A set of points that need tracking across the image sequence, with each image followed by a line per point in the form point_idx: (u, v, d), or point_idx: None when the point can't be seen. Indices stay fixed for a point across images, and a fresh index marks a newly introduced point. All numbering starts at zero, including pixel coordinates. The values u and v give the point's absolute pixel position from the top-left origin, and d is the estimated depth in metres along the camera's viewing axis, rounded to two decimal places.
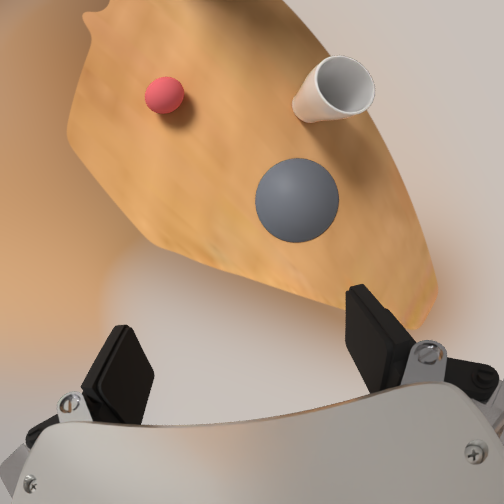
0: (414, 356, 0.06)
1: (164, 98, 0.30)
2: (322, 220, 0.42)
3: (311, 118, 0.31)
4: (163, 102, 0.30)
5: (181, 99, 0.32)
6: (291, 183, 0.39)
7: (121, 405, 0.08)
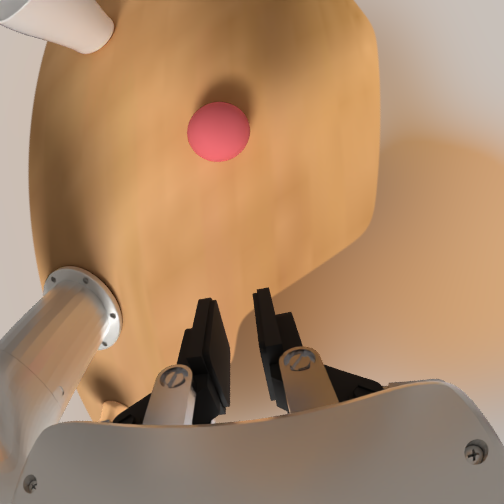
0: (283, 360, 0.07)
1: (219, 113, 0.20)
2: None
3: (96, 2, 0.14)
4: (225, 111, 0.20)
5: None
6: None
7: (220, 375, 0.09)
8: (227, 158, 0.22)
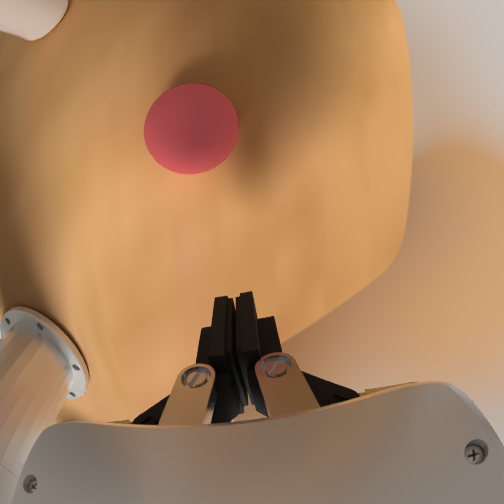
0: (259, 366, 0.07)
1: (189, 99, 0.12)
2: None
3: None
4: (199, 94, 0.12)
5: None
6: None
7: (240, 374, 0.09)
8: (204, 169, 0.14)
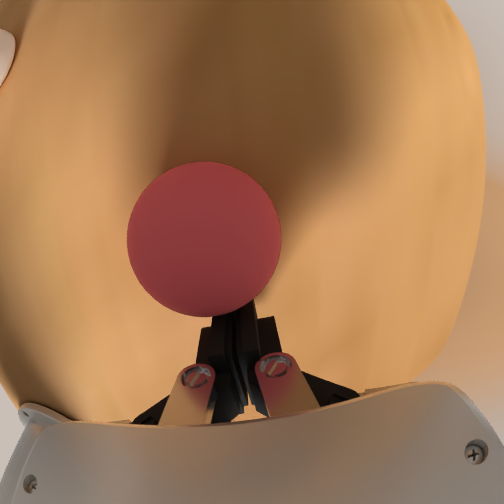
0: (259, 366, 0.07)
1: (194, 174, 0.08)
2: None
3: None
4: (212, 169, 0.08)
5: None
6: None
7: (240, 374, 0.09)
8: (224, 307, 0.08)
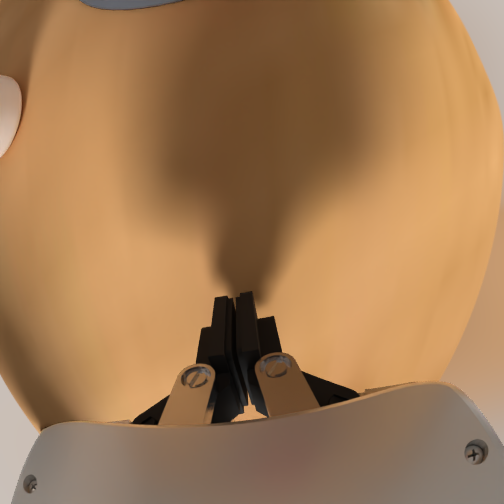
0: (259, 366, 0.07)
1: None
2: None
3: None
4: None
5: None
6: None
7: (240, 374, 0.09)
8: None
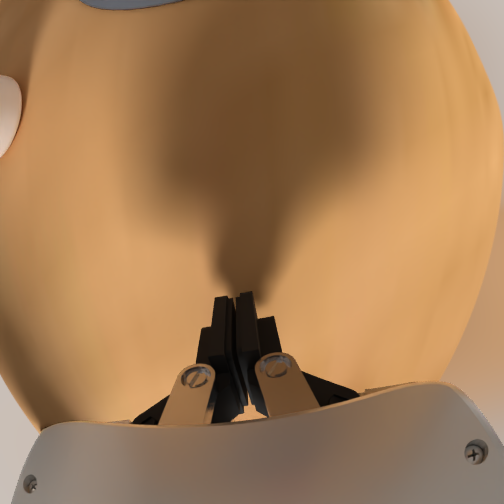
0: (259, 366, 0.07)
1: None
2: None
3: None
4: None
5: None
6: None
7: (240, 374, 0.09)
8: None
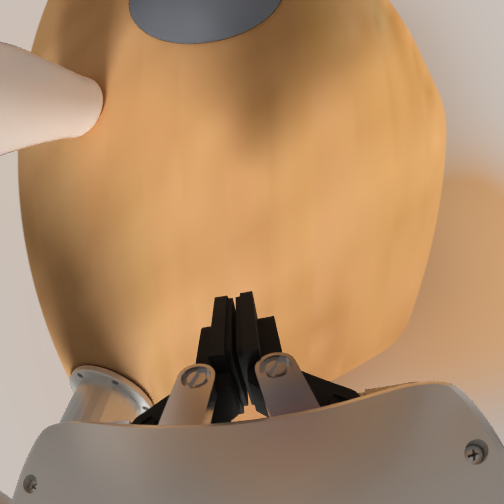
0: (260, 366, 0.07)
1: None
2: None
3: (68, 74, 0.11)
4: None
5: None
6: (192, 7, 0.14)
7: (240, 374, 0.09)
8: None
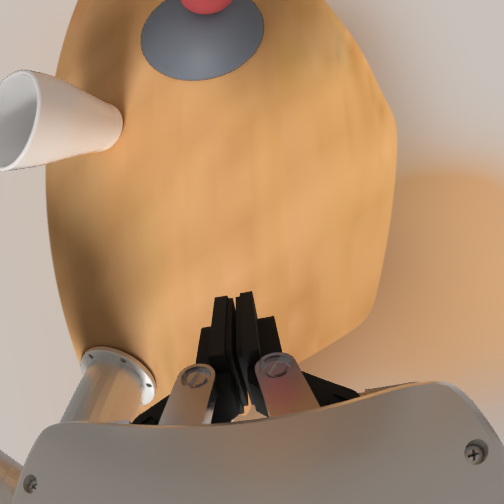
0: (260, 366, 0.07)
1: (213, 12, 0.18)
2: None
3: (100, 104, 0.18)
4: (218, 10, 0.18)
5: (197, 0, 0.16)
6: (191, 49, 0.21)
7: (240, 374, 0.09)
8: None
